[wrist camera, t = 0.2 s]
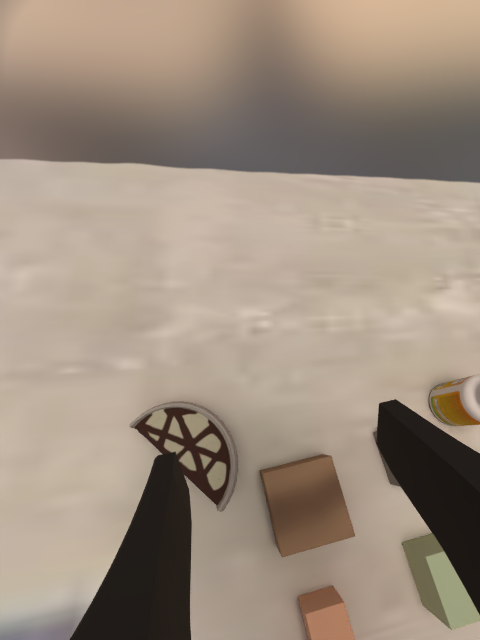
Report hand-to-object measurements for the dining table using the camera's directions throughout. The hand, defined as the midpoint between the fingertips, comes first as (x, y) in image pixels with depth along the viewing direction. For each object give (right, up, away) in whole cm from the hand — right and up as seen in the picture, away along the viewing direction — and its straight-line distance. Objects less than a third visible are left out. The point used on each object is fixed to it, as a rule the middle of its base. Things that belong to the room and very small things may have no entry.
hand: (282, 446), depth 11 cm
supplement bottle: (+26, -7, +32) cm, 42 cm away
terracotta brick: (+7, -28, +24) cm, 37 cm away
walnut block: (+6, -17, +28) cm, 33 cm away
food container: (-6, -10, +30) cm, 32 cm away
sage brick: (+20, -23, +26) cm, 40 cm away
